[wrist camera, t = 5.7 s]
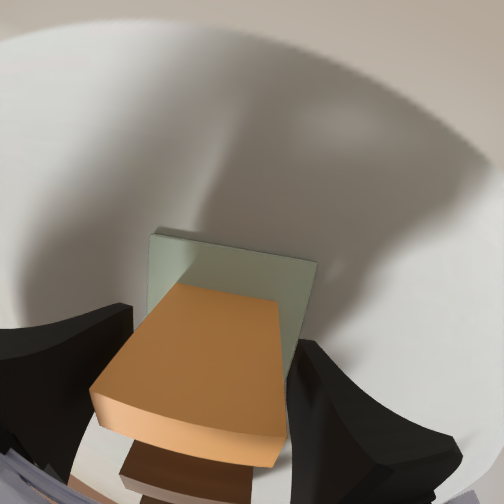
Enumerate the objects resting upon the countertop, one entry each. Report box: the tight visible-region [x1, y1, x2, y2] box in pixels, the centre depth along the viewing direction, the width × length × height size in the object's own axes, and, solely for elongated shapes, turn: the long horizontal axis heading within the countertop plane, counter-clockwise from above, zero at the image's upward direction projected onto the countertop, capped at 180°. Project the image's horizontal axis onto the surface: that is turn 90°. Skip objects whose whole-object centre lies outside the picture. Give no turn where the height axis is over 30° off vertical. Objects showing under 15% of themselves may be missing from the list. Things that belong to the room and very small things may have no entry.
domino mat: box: [147, 234, 317, 467], centre depth 17 cm, size 34×8×1 cm, turn 170°
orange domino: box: [89, 283, 287, 468], centre depth 9 cm, size 2×5×8 cm, turn 80°
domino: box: [119, 439, 253, 504], centre depth 11 cm, size 2×5×8 cm, turn 81°
